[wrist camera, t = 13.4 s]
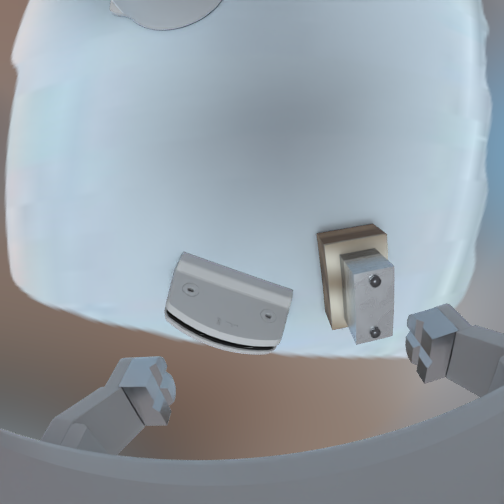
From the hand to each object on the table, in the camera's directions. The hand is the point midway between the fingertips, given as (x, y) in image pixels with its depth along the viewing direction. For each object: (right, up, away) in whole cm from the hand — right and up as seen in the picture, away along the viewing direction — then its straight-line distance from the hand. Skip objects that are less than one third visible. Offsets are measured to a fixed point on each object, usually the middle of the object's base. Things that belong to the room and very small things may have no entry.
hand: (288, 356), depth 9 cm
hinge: (-4, -3, +34) cm, 35 cm away
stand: (+12, +1, +33) cm, 35 cm away
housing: (+12, -1, +28) cm, 30 cm away
